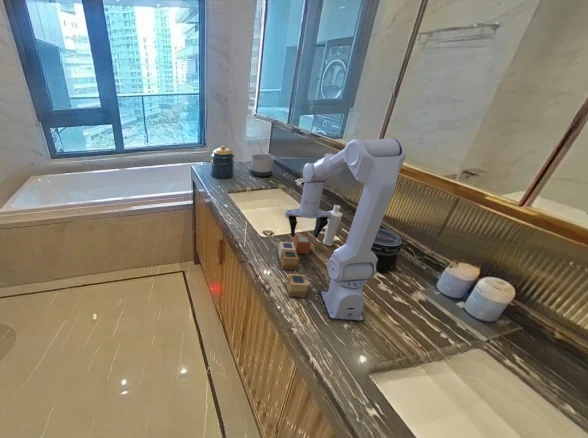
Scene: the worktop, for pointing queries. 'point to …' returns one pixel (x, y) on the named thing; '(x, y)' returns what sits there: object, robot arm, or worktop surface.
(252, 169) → the planter
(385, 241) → the container
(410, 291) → the worktop surface
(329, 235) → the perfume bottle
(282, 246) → the cream block
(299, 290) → the maple block
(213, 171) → the canister
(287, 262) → the beech block
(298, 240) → the terracotta block
